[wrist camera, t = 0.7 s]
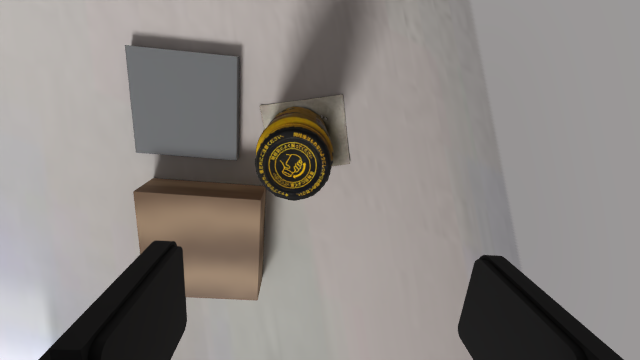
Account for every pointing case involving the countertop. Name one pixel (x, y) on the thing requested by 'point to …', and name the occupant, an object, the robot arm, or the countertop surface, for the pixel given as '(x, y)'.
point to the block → (207, 233)
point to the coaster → (184, 102)
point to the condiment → (301, 145)
